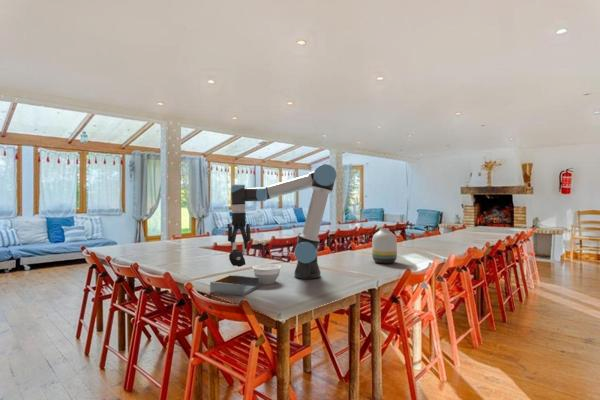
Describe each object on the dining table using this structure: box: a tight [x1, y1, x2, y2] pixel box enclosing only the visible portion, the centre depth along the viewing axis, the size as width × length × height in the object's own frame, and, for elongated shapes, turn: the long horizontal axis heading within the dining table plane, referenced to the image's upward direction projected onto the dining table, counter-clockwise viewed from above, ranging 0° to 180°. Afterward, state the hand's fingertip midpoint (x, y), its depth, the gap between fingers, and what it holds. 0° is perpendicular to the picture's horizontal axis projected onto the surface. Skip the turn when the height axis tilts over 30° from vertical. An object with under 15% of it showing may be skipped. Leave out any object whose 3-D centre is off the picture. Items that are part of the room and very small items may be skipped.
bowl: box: [251, 263, 282, 285], centre depth 187 cm, size 16×16×8 cm
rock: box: [228, 248, 246, 268], centre depth 186 cm, size 11×8×10 cm
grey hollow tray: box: [209, 274, 261, 297], centre depth 172 cm, size 18×17×5 cm
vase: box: [371, 227, 398, 265], centre depth 245 cm, size 17×17×24 cm
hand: (239, 254), depth 191 cm, fingers closed on rock, 6 cm apart
